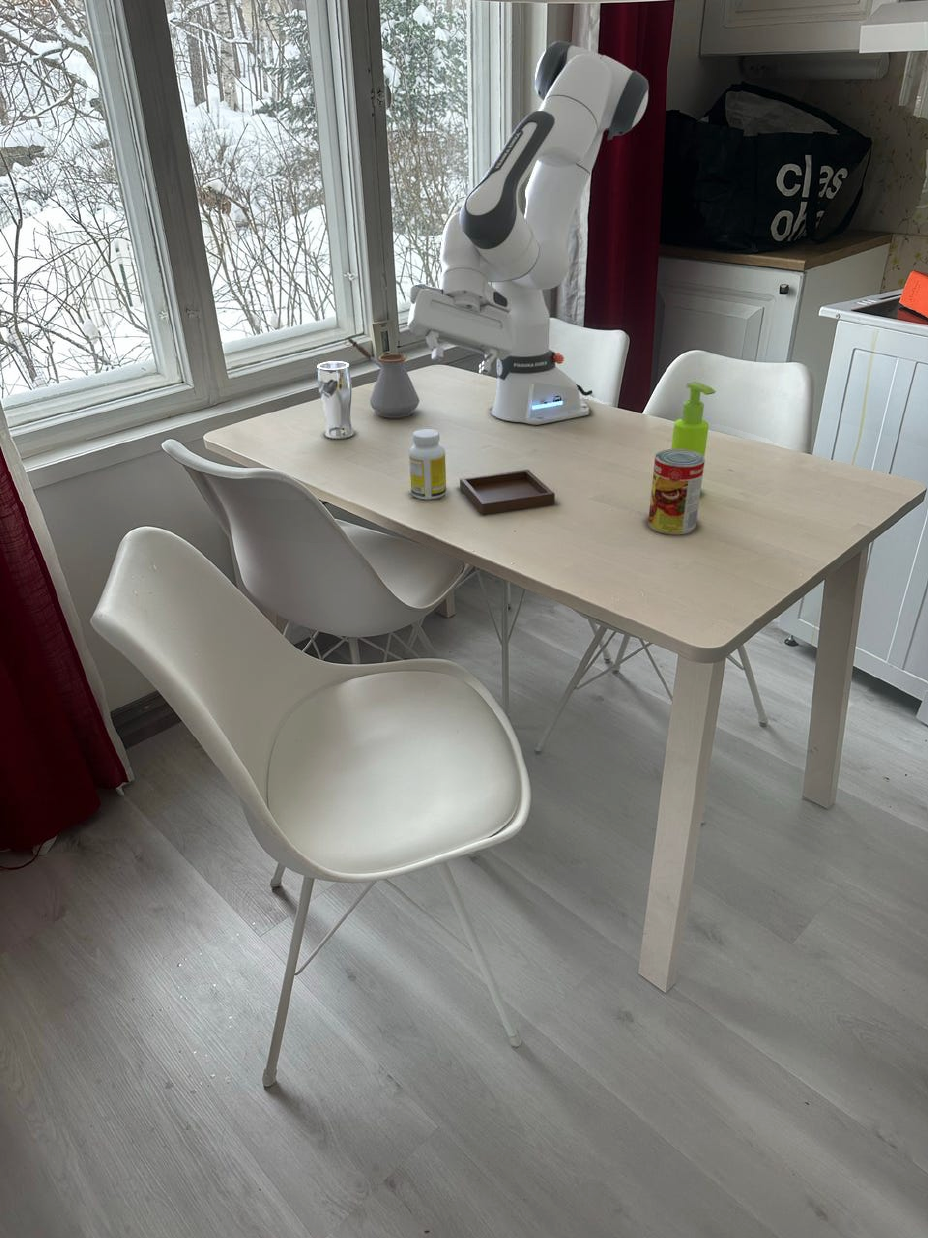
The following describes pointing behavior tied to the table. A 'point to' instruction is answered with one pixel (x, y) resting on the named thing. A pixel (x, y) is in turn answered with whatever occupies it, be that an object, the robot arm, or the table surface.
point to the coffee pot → (391, 386)
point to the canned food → (675, 491)
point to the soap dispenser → (692, 422)
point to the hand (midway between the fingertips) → (461, 365)
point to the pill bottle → (427, 465)
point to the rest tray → (506, 492)
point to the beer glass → (336, 398)
